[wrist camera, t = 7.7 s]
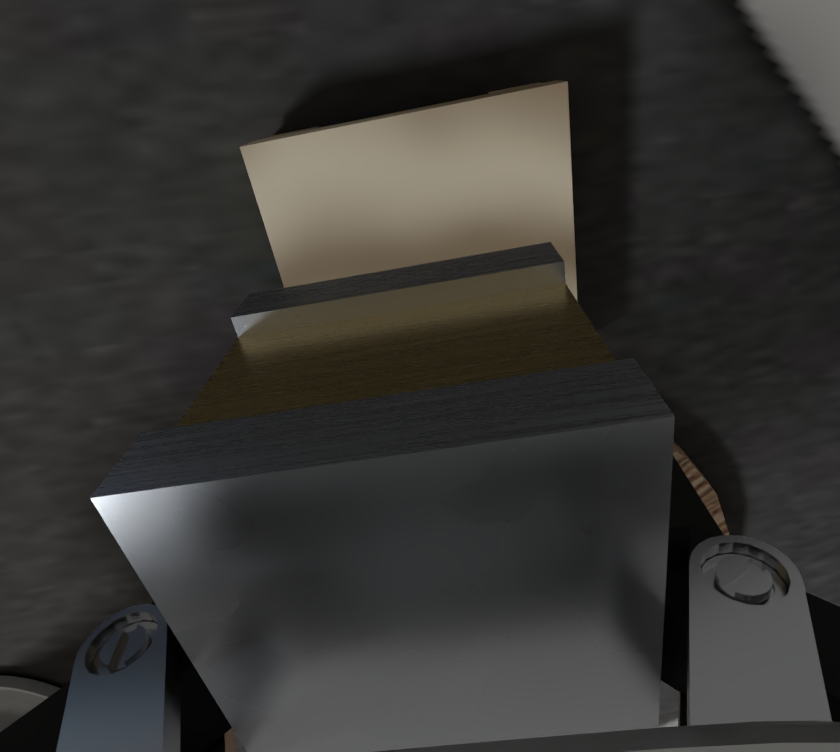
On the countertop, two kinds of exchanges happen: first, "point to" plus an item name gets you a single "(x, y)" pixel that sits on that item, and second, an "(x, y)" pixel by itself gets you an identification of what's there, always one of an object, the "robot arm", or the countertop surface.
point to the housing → (412, 514)
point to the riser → (419, 185)
